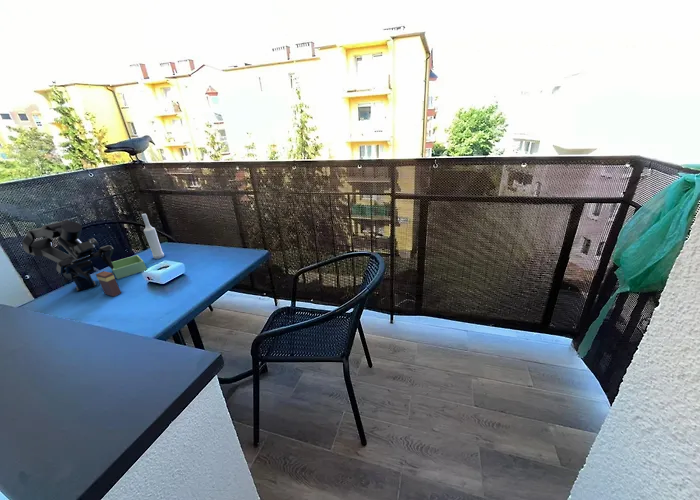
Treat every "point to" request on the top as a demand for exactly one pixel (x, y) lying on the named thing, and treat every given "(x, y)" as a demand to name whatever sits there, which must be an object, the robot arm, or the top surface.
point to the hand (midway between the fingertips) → (101, 273)
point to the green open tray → (128, 266)
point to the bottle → (152, 239)
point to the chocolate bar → (108, 283)
